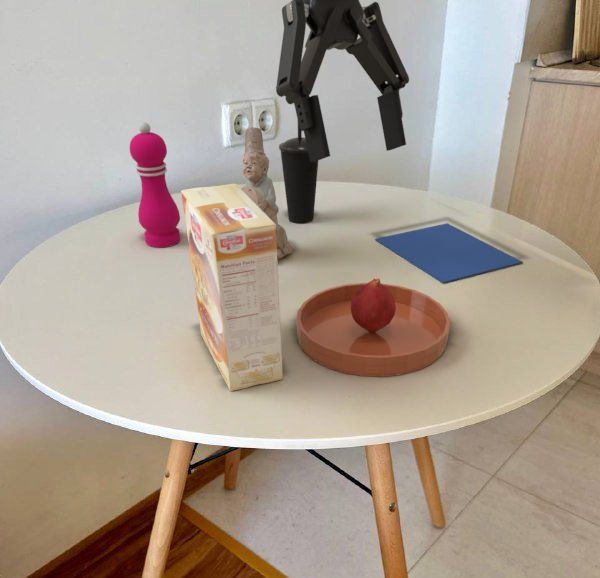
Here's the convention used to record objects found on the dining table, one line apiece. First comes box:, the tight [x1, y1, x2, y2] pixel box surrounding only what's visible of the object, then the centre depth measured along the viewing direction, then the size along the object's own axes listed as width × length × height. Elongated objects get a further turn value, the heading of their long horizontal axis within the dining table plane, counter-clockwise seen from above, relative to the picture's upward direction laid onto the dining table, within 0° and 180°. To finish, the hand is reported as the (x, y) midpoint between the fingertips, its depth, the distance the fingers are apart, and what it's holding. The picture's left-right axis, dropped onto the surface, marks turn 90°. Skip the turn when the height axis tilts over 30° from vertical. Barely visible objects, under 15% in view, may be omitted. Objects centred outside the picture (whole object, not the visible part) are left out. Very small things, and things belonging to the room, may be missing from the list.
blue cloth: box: [374, 222, 524, 284], centre depth 102 cm, size 20×16×1 cm
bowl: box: [296, 282, 451, 377], centre depth 79 cm, size 20×20×3 cm
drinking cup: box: [278, 123, 319, 224], centre depth 109 cm, size 8×8×20 cm
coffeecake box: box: [180, 183, 284, 392], centre depth 70 cm, size 15×7×20 cm, turn 21°
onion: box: [351, 276, 396, 333], centre depth 77 cm, size 6×6×8 cm
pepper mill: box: [129, 122, 181, 248], centre depth 102 cm, size 7×7×20 cm
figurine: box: [240, 127, 293, 260], centre depth 96 cm, size 9×8×20 cm
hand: (360, 153), depth 72 cm, fingers open, 13 cm apart
